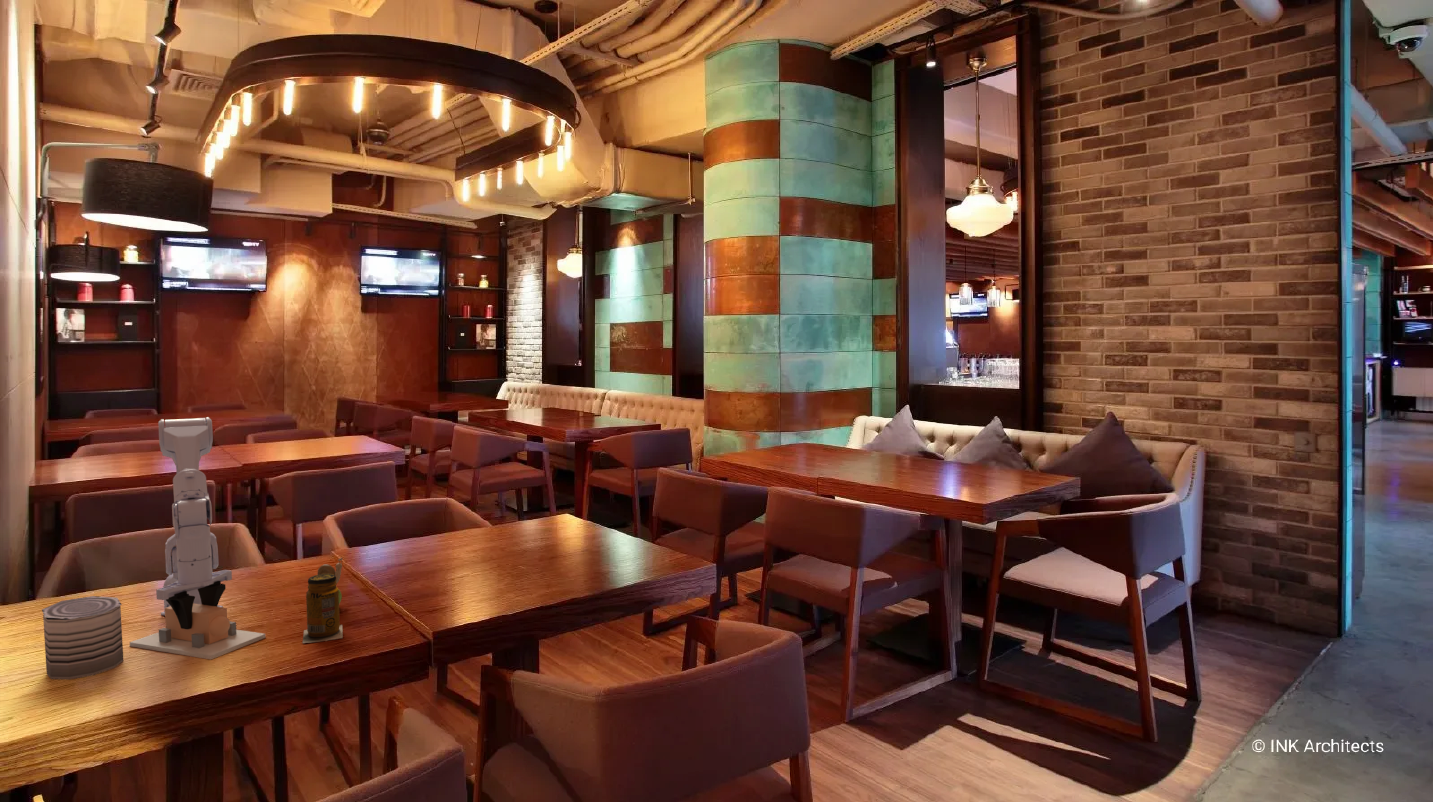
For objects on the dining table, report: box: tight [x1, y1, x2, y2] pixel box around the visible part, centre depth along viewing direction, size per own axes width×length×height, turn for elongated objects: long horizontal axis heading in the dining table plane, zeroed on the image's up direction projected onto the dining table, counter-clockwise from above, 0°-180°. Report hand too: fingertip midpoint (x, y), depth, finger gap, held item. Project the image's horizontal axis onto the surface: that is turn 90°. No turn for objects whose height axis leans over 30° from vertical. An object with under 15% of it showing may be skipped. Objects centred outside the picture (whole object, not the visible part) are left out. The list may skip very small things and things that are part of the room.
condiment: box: [302, 574, 344, 644], centre depth 162 cm, size 7×8×12 cm
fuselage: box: [164, 603, 230, 644], centre depth 158 cm, size 14×4×6 cm, turn 71°
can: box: [41, 595, 124, 681], centre depth 146 cm, size 11×11×12 cm
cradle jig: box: [129, 620, 266, 660], centre depth 159 cm, size 22×12×3 cm, turn 71°
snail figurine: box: [317, 557, 343, 604], centre depth 178 cm, size 5×6×12 cm
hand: (197, 624), depth 158 cm, fingers open, 4 cm apart
